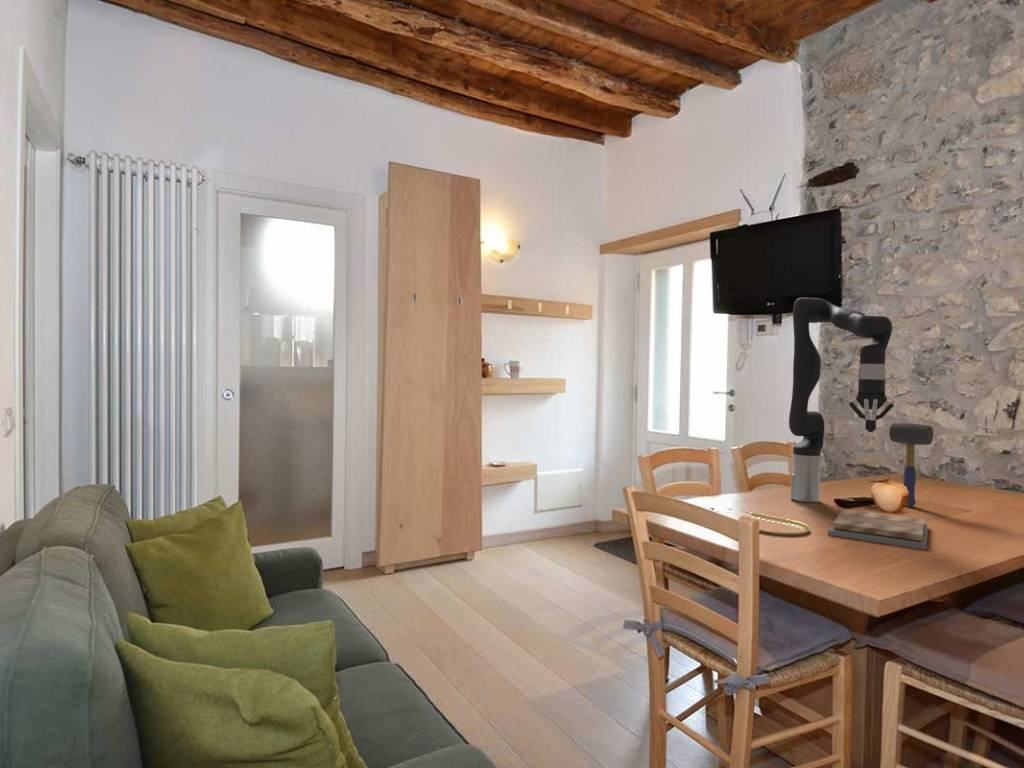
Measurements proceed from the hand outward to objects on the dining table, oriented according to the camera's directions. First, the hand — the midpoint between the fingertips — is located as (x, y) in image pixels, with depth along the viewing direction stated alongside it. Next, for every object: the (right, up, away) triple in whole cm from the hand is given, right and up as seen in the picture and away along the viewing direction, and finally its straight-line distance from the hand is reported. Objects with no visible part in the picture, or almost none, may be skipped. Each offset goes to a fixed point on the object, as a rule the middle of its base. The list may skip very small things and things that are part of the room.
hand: (870, 431), depth 196 cm
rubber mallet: (+27, -29, +23) cm, 46 cm away
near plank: (-9, -28, -19) cm, 35 cm away
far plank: (0, -28, -6) cm, 28 cm away
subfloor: (-4, -29, -12) cm, 32 cm away
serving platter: (-40, -29, -3) cm, 50 cm away
